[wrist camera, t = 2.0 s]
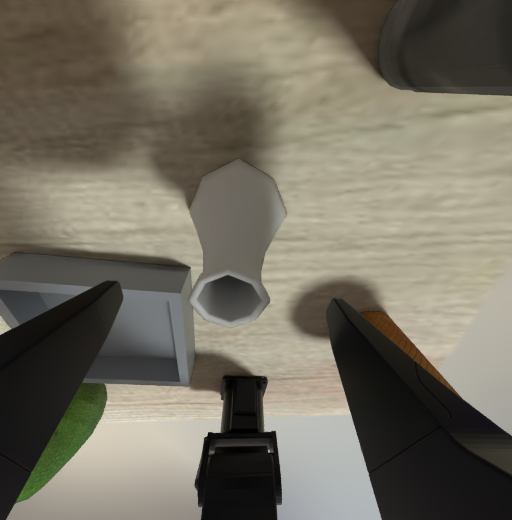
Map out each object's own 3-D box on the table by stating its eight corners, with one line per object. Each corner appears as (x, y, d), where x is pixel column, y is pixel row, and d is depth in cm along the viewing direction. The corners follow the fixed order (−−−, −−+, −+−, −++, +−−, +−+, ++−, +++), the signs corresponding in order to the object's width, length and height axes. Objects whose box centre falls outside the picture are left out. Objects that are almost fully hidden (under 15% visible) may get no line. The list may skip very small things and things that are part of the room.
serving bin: (195, 358, 28) (189, 386, 25) (74, 352, 27) (52, 381, 24) (190, 267, 20) (180, 293, 17) (14, 252, 19) (-30, 277, 16)
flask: (173, 208, 17) (100, 300, 9) (238, 136, 14) (223, 169, 6) (239, 263, 20) (231, 369, 12) (302, 212, 17) (351, 303, 9)
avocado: (54, 356, 27) (-57, 494, 17) (120, 368, 29) (53, 498, 19) (59, 385, 31) (-29, 511, 22) (117, 394, 33) (60, 513, 23)
